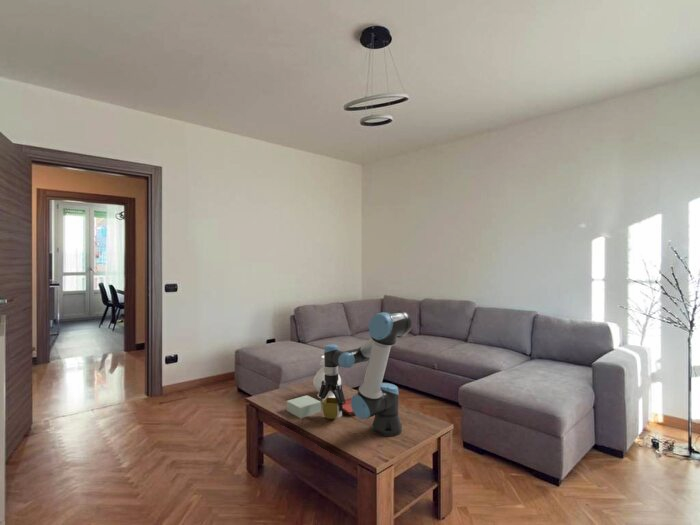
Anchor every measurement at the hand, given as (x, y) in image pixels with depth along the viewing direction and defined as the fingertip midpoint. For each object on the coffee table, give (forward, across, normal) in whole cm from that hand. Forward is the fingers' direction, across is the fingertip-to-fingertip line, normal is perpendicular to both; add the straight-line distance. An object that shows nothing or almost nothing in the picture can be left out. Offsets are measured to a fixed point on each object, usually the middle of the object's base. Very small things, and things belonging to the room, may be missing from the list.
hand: (331, 413), depth 208 cm
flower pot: (+2, 0, 0) cm, 2 cm away
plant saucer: (+4, +2, -19) cm, 19 cm away
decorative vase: (+3, +28, -22) cm, 36 cm away
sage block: (+3, +20, +4) cm, 20 cm away
